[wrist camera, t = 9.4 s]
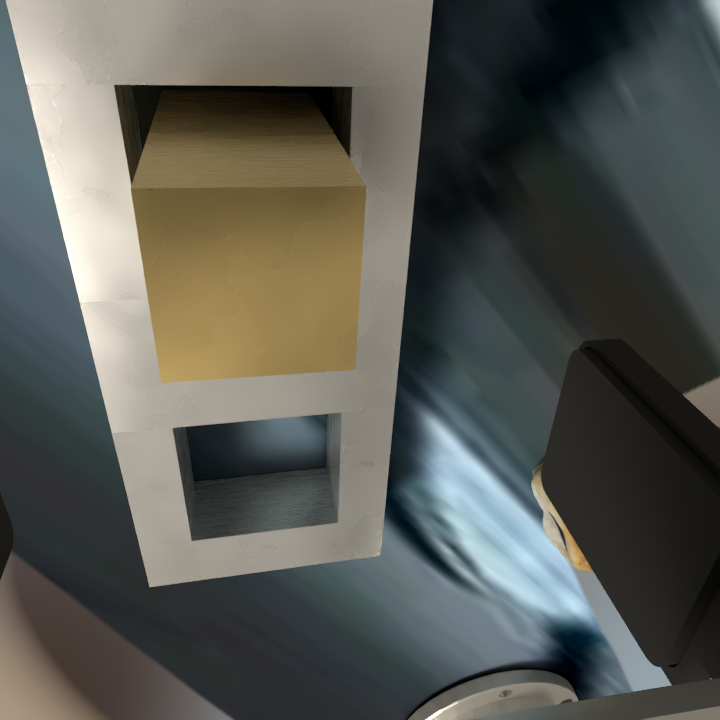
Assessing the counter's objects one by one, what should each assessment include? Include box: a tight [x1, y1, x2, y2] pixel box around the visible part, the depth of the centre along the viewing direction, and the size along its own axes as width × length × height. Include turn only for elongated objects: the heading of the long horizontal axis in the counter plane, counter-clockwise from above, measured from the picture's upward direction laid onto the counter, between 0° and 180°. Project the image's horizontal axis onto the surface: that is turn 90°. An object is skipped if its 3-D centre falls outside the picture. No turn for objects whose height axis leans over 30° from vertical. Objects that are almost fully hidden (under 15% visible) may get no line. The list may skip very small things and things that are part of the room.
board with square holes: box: [6, 0, 433, 587], centre depth 20 cm, size 20×9×3 cm, turn 177°
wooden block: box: [131, 90, 367, 383], centre depth 15 cm, size 4×4×8 cm
